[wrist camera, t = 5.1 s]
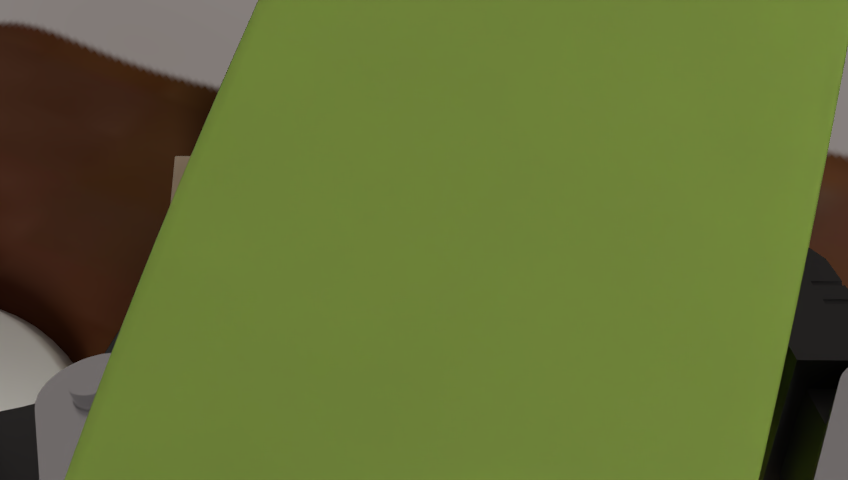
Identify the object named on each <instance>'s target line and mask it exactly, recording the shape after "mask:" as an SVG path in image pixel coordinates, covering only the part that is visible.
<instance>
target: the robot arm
mask: <svg viewBox="0 0 848 480" xmlns="http://www.w3.org/2000/svg"><path fill="white" fill-rule="evenodd" d="M119 332H120V330H119ZM119 332H118V333H117V335H116V336H115V338H114V340H113V341H112V343H111V344H110V346H109V347H108V349H107V350H106V352H105V354H100V355H96V356H92V357H89V358H86V359H83V360H80V361H78V362H76V363H74V364H71V365H70V366H68V367H66V368H64V369H63V370H61V371H60V372H58V373H57V374H56V375H54V376H53V377H52V378H51V379H50V380H49V381H48V382H47V383H46V384H45V385H44V386H43V387H42V389H41V390H40V392H39V394H38V395H37V398H36V401H35V404H31V405H27V406H23V407H19V408H14V409H9V410H4V411H0V480H64V479H65V476H66V474H67V471H68V468H69V465H70V462H71V460H72V457H73V454H74V451H75V448H76V446H77V443H78V440H79V438H80V435H81V432H82V430H83V427H84V424H85V421H86V419H87V416H88V413H89V411H90V408H91V405H92V403H93V400H94V397H95V394H96V392H97V389H98V386H99V384H100V381H101V378H102V376H103V373H104V371H105V368H106V365H107V363H108V360H109V358H110V355H111V352H112V350H113V347H114V345H115V342H116V339H117V337H118V334H119ZM759 480H848V289H847V288H846V286H842V281H841V279H840V278H839V277H838V275H837V274H836V272H835V271H834V270H833V268H832V267H831V265H830V264H829V263H828V261H827V260H826V259H825V258H824V257H822V256H821V255H819V254H818V253H816V252H815V251H813V250H812V249H810V248H808V252H807V257H806V262H805V267H804V272H803V277H802V282H801V287H800V292H799V297H798V301H797V306H796V311H795V316H794V320H793V325H792V330H791V335H790V339H789V344H788V349H787V354H786V358H785V363H784V368H783V372H782V377H781V382H780V386H779V391H778V395H777V400H776V404H775V409H774V413H773V418H772V423H771V427H770V432H769V436H768V441H767V445H766V450H765V454H764V459H763V463H762V467H761V472H760V476H759Z"/></svg>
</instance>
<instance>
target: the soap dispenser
mask: <svg viewBox="0 0 848 480" xmlns="http://www.w3.org/2000/svg"><path fill="white" fill-rule="evenodd" d="M847 47H848V0H258V2H257V4H256V7H255V9H254V11H253V14H252V16H251V18H250V20H249V23H248V25H247V27H246V29H245V32H244V34H243V36H242V38H241V41H240V43H239V45H238V48H237V50H236V52H235V54H234V56H233V59H232V61H231V63H230V66H229V68H228V70H227V72H226V75H225V77H224V79H223V82H222V84H221V86H220V89H219V91H218V93H217V96H216V98H215V100H214V102H213V105H212V107H211V109H210V112H209V114H208V116H207V119H206V121H205V123H204V126H203V128H202V130H201V133H200V135H199V137H198V140H197V142H196V145H195V147H194V149H193V152H192V154H191V156H190V159H189V161H188V163H187V166H186V168H185V171H184V173H183V175H182V178H181V180H180V182H179V185H178V187H177V190H176V192H175V194H174V197H173V199H172V202H171V204H170V207H169V209H168V212H167V214H166V216H165V219H164V221H163V224H162V226H161V229H160V231H159V234H158V236H157V238H156V241H155V243H154V246H153V248H152V251H151V253H150V256H149V258H148V261H147V263H146V266H145V268H144V271H143V273H142V276H141V278H140V281H139V283H138V286H137V288H136V291H135V293H134V296H133V298H132V301H131V303H130V306H129V308H128V311H127V314H126V316H125V319H124V321H123V324H122V326H121V329H120V332H119V334H118V337H117V339H116V342H115V345H114V347H113V350H112V352H111V355H110V358H109V360H108V363H107V365H106V368H105V371H104V373H103V376H102V378H101V381H100V384H99V386H98V389H97V392H96V394H95V397H94V400H93V403H92V405H91V408H90V411H89V413H88V416H87V419H86V421H85V424H84V427H83V430H82V432H81V435H80V438H79V440H78V443H77V446H76V448H75V451H74V454H73V457H72V460H71V462H70V465H69V468H68V471H67V474H66V476H65V479H64V480H759V476H760V472H761V467H762V463H763V459H764V454H765V450H766V445H767V441H768V436H769V432H770V427H771V423H772V418H773V413H774V409H775V404H776V400H777V395H778V391H779V386H780V382H781V377H782V372H783V368H784V363H785V358H786V354H787V349H788V344H789V339H790V335H791V330H792V325H793V320H794V316H795V311H796V306H797V301H798V297H799V292H800V287H801V282H802V277H803V272H804V267H805V262H806V257H807V252H808V248H809V243H810V238H811V233H812V228H813V223H814V218H815V213H816V208H817V203H818V198H819V192H820V187H821V182H822V177H823V172H824V167H825V162H826V157H827V152H828V147H829V141H830V136H831V131H832V126H833V121H834V115H835V110H836V105H837V100H838V95H839V90H840V84H841V78H842V74H843V68H844V63H845V57H846V52H847Z"/></svg>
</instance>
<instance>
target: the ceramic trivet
mask: <svg viewBox="0 0 848 480" xmlns="http://www.w3.org/2000/svg"><path fill="white" fill-rule="evenodd" d="M71 364H73V363H72V361H71V360H70V358H69V357H68V356H67V355H66V354H65V352H64V351H63V350H62V349H61V348H60V347H59V346H58V345H57V344H56V343H55V342H54V341H53V340H52V339H51V338H50V337H48V336H47V335H46V334H44V333H43V332H42V331H41V330H39V329H38V328H37V327H36V326H34V325H32V324H30V323H29V322H27V321H25V320H23V319H22V318H20V317H18V316H16V315H14V314H11V313H8V312H6V311H3V310H1V309H0V411H4V410H9V409H14V408H19V407H23V406H27V405H31V404H35V401H36V398H37V395H38V394H39V392H40V390H41V389H42V387H43V386H44V385H45V384H46V383H47V382H48V381H49V380H50V379H51V378H52V377H53V376H54V375H56V374H57V373H58V372H60V371H61V370H63V369H64V368H66V367H68V366H70V365H71Z"/></svg>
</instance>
